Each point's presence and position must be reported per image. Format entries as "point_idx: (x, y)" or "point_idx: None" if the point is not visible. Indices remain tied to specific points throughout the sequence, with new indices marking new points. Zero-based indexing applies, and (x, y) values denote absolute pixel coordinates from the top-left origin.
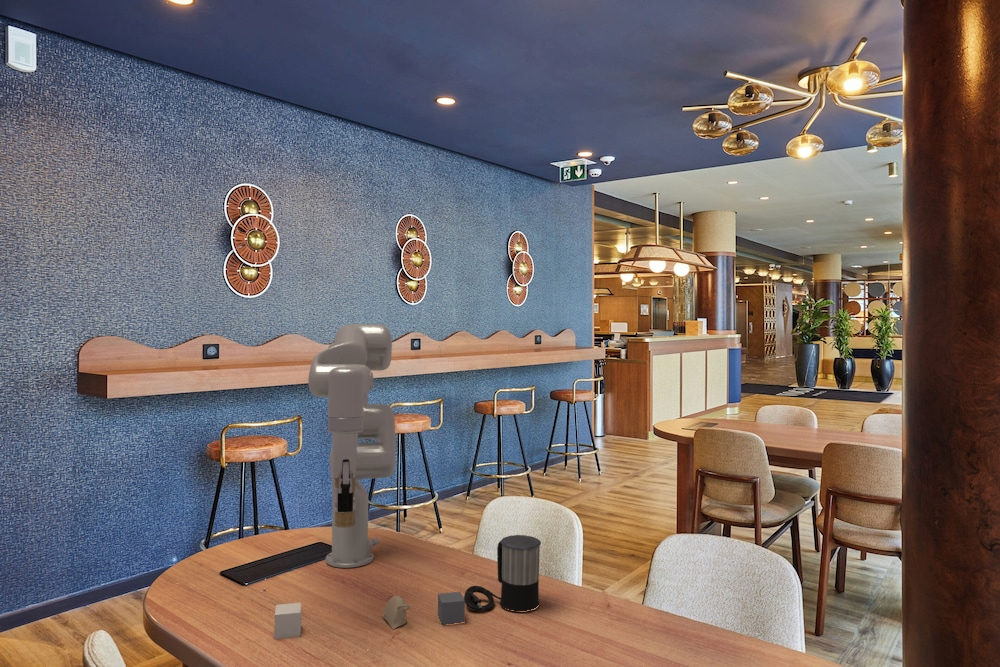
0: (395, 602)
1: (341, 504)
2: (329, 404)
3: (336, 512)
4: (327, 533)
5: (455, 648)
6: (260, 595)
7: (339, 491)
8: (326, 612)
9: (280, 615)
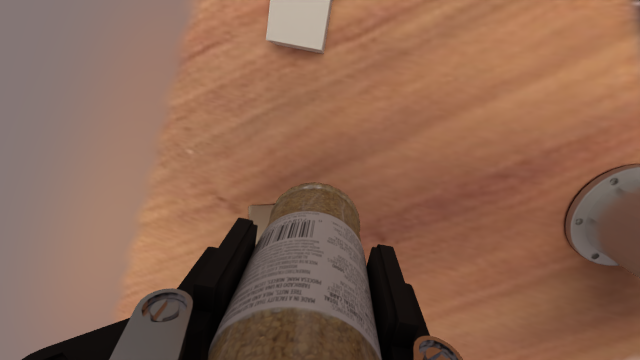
0: (259, 232)
1: (201, 257)
2: None
3: (290, 212)
4: None
5: (159, 265)
6: None
7: (139, 308)
8: (364, 113)
9: None
